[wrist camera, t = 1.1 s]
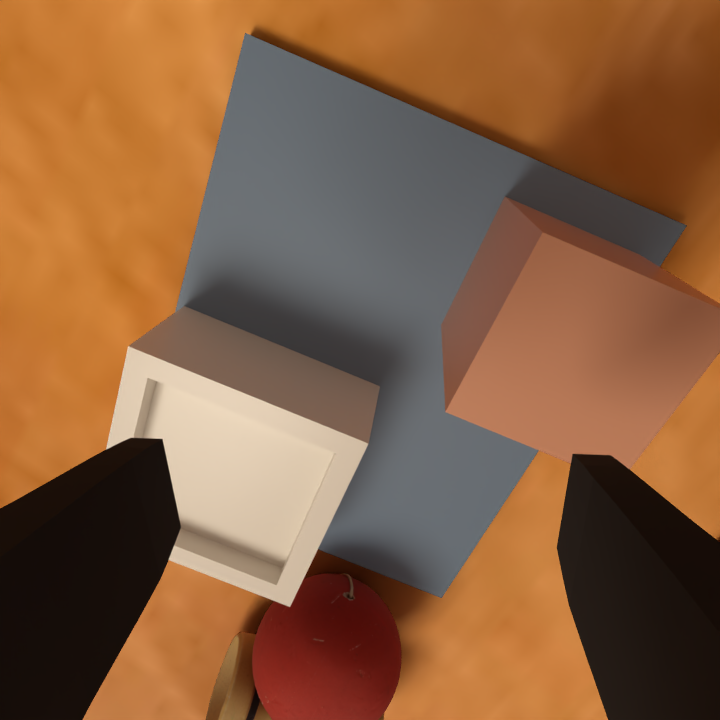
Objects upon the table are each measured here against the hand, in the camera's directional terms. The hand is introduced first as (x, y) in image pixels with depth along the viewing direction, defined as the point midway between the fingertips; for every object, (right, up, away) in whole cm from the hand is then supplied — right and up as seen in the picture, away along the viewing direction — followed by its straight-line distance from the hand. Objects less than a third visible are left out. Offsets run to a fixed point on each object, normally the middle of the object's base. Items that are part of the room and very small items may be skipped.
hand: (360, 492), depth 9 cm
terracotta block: (+6, +5, +8) cm, 10 cm away
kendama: (-3, -13, +18) cm, 22 cm away
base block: (-4, 0, +11) cm, 12 cm away
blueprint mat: (0, +2, +10) cm, 10 cm away
